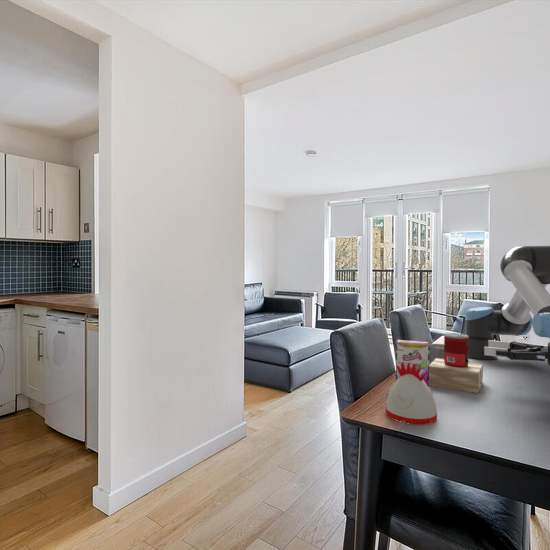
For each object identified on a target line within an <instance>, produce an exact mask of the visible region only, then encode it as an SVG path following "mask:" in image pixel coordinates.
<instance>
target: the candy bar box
mask: <svg viewBox="0 0 550 550" xmlns="http://www.w3.org/2000/svg"><path fill="white" fill-rule="evenodd" d="M395 342H396V343H395V344H396V345H395V380H394V383H395V382H396V380H397V379H399V378H400V377H401V376H400V374H399V372H398V369H397V366H399V367H400V369H401V363H402V362H403V363H404V366H405V369H406V368H407V364H408V363H410V368H411V369H412V365H413V364H415V369H416V371H417V370H418V369H420V373H419V376H420V377H422V375H423V374H425V376H424V378H423V381H424V382H425V383H426V384H427V386H428V387H429V388H430V385H429V352H430V345H429V344H430V343H429V342H428V341H420V340H419V341H418V340H406V339H405V340H404V339H396V341H395Z"/></svg>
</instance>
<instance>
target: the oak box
mask: <svg viewBox="0 0 550 550" xmlns="http://www.w3.org/2000/svg"><path fill="white" fill-rule="evenodd" d="M483 368H484V364H483V363H476V362H469V361H468V366H467V367H451V366H448V365H446V364H445V362H444V359H440V358H436V359H435V360H434V361H433V362H432V363H431V364H430V365H429V386H431V385H432V387H437V386H438V387H437V388H443V389H444V388H445V389H451V390H456V391H461V392H466V391H467V392H468V393H472V392H475V393H474V394H479V393H478V392H480V390H481V388H482V385H483V379H484V378H483V373H484V372H483V371H484V369H483Z"/></svg>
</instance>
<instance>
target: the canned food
mask: <svg viewBox="0 0 550 550" xmlns="http://www.w3.org/2000/svg"><path fill="white" fill-rule="evenodd" d="M443 336H444V338H443V341H444V343H443V344H444V362H445V364H446V365H448V366H451V367H467V366H468V362H469V336H468V335H465V333H455V332H454V333H452V332H451V333H450V332H447V333H444V335H443Z"/></svg>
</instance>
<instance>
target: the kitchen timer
mask: <svg viewBox="0 0 550 550" xmlns="http://www.w3.org/2000/svg"><path fill="white" fill-rule="evenodd" d="M397 369H398V372H399V374H400V376H401V377H400V378H399V379H397V380H396V382H395V381H394V383H393V384H392V385H391V388H390V389H389V393H388V396H387V398H386V401H385V413H386V416H388V417H389V416H390V417H391V418H390V417H389V418H390V419H392V418H393V419H392V420H394V419H396V420H398V421H397V422H399V421H401V422H400V423H403V422H405V423H404V424H407V423H409V424H408V425H414V424H415V425H417V426H419V425H420V426H423V425H430V424H434V422H436V421H437V419H438V410H437V409H438V408H437V405H436V402H435V398H434V395H433V392H432V391H431V389H430V386H429V387H428V386H427V384H426V383H425V382H424V381H423V378H424V376H425V374H423V375H422V377H420V376H419V373H420V369H418V370H417V371H416V369H415V364H413V365H412V369H411V368H410V363H408V364H407V368H406V369H405V366H404V363H403V362H402V363H401V369H400V367H399V366H397ZM396 420H395V421H396Z"/></svg>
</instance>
